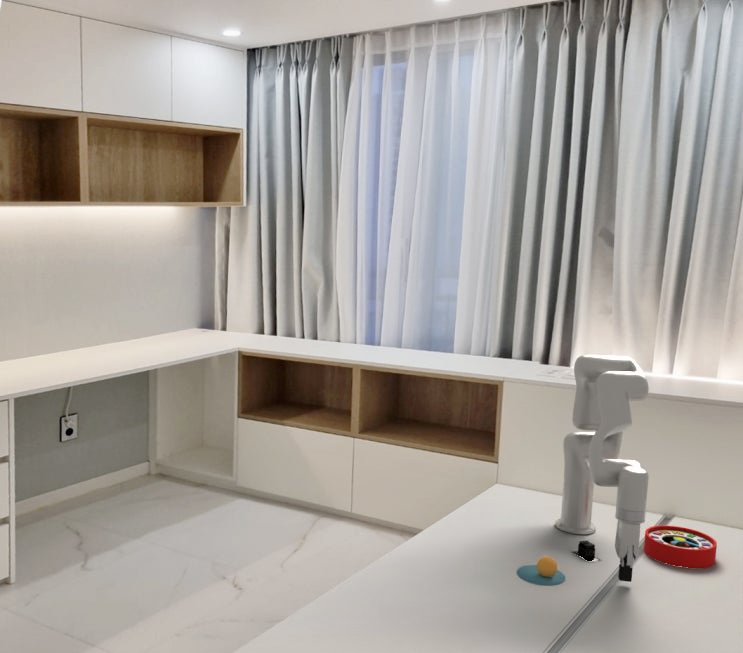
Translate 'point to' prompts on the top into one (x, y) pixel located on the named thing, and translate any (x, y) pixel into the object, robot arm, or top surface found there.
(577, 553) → the black boxy piece
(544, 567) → the ball
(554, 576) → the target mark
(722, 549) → the top surface
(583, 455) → the robot arm
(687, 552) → the toy clock
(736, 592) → the top surface
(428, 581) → the top surface
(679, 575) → the top surface
